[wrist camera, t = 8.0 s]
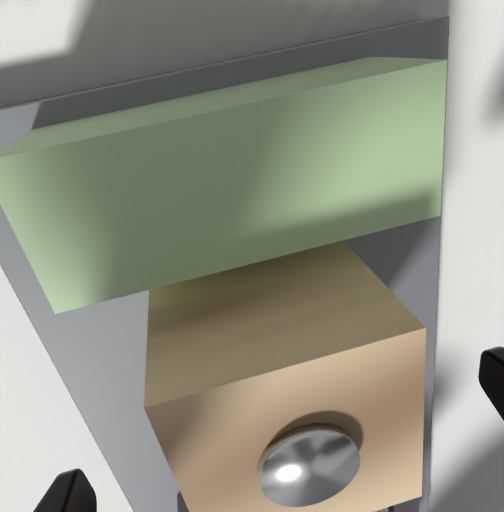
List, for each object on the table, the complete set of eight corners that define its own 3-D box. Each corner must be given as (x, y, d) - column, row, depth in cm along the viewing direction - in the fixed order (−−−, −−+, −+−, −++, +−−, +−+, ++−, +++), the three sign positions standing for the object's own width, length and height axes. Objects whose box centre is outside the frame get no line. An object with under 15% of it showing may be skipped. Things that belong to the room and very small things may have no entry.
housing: (339, 355, 14) (428, 508, 9) (195, 396, 14) (213, 579, 9) (326, 222, 12) (436, 338, 7) (150, 266, 11) (143, 422, 7)
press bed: (416, 509, 21) (466, 601, 18) (184, 583, 20) (189, 697, 17) (425, 19, 11) (554, 4, 7) (-54, 119, 10) (-177, 159, 6)
